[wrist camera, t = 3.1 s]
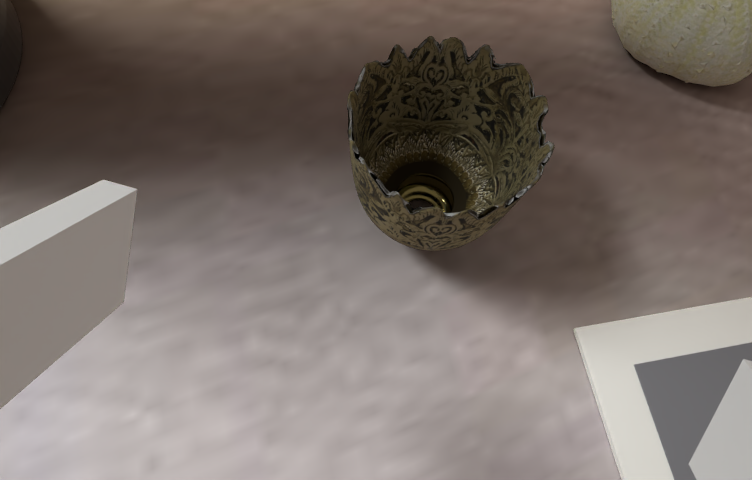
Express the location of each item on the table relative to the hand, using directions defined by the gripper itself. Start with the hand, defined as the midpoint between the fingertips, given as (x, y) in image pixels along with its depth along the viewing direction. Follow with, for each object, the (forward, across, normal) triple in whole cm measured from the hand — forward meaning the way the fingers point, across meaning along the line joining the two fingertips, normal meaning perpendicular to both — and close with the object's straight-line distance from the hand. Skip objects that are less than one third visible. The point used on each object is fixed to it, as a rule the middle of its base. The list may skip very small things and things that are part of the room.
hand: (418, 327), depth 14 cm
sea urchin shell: (+28, +11, +8) cm, 31 cm away
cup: (+17, 0, -3) cm, 17 cm away
